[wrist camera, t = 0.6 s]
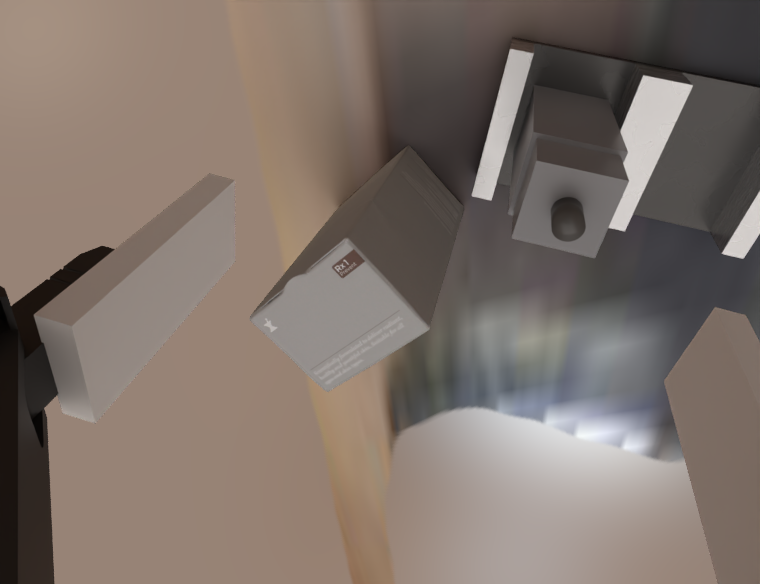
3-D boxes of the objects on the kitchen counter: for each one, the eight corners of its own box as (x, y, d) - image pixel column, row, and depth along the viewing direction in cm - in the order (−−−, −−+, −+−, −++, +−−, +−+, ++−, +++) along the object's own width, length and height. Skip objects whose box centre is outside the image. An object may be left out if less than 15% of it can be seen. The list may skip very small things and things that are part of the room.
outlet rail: (512, 37, 33) (510, 48, 30) (809, 95, 31) (836, 113, 28) (476, 175, 38) (471, 196, 35) (727, 232, 36) (743, 258, 33)
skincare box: (390, 264, 44) (330, 406, 31) (327, 200, 42) (237, 324, 29) (472, 205, 39) (442, 343, 27) (406, 130, 37) (339, 241, 25)
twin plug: (534, 84, 33) (532, 167, 22) (608, 99, 33) (643, 192, 22) (513, 154, 36) (502, 258, 25) (581, 169, 35) (601, 281, 25)
